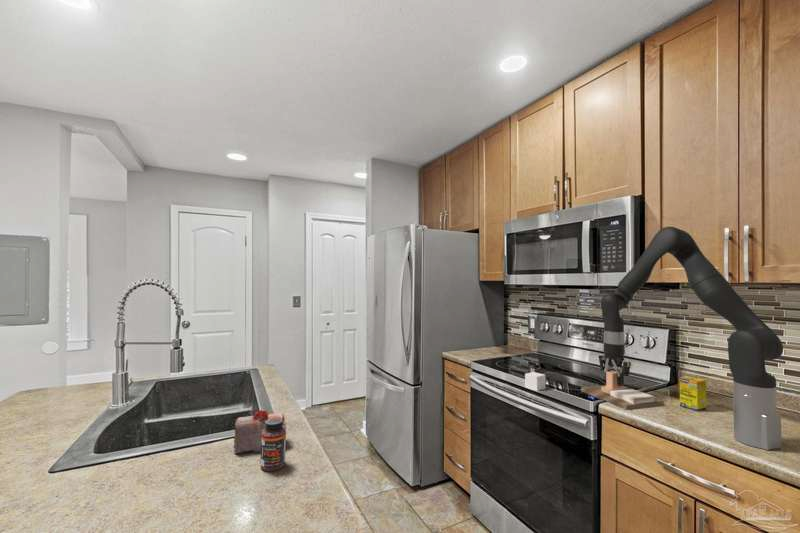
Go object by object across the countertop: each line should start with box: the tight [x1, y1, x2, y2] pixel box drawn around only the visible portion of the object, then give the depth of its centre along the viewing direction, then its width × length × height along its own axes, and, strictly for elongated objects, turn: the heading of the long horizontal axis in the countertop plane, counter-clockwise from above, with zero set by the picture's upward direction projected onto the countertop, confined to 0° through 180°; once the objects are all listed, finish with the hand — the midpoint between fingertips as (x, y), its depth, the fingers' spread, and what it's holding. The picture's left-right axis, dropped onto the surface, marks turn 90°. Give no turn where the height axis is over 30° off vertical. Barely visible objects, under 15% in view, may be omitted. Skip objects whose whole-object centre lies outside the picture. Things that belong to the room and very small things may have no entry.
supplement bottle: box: [260, 418, 287, 472], centre depth 93 cm, size 6×6×11 cm
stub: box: [601, 370, 629, 394], centre depth 149 cm, size 4×10×8 cm, turn 106°
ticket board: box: [580, 384, 665, 410], centre depth 147 cm, size 22×18×4 cm
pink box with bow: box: [233, 409, 287, 455], centre depth 103 cm, size 14×8×10 cm, turn 113°
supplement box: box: [679, 375, 707, 412], centre depth 137 cm, size 6×6×11 cm
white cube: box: [524, 371, 546, 392], centre depth 159 cm, size 6×6×6 cm
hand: (614, 383), depth 150 cm, fingers open, 5 cm apart
